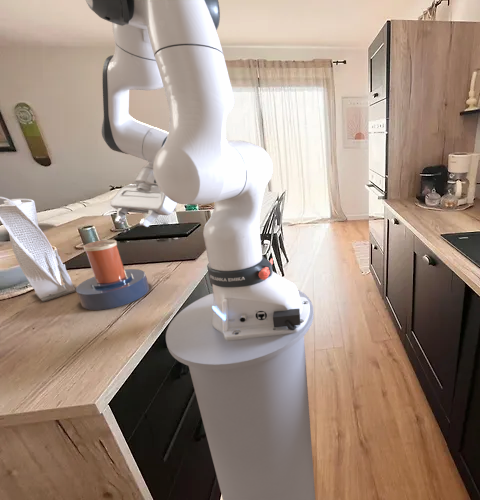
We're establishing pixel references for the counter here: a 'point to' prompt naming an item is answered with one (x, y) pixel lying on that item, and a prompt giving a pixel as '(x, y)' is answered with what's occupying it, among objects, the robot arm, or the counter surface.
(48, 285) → the skyscraper
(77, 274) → the counter surface
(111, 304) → the blue round puck
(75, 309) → the counter surface
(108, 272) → the terracotta cup
